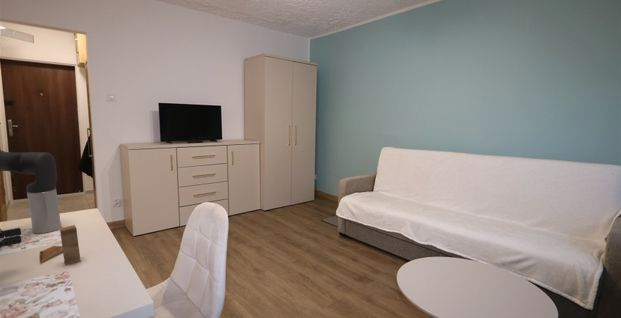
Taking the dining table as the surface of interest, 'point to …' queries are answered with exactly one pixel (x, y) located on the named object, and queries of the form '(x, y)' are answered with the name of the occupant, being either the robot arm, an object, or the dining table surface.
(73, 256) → the pillar
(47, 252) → the shard
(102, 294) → the dining table surface
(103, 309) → the dining table surface
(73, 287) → the dining table surface
